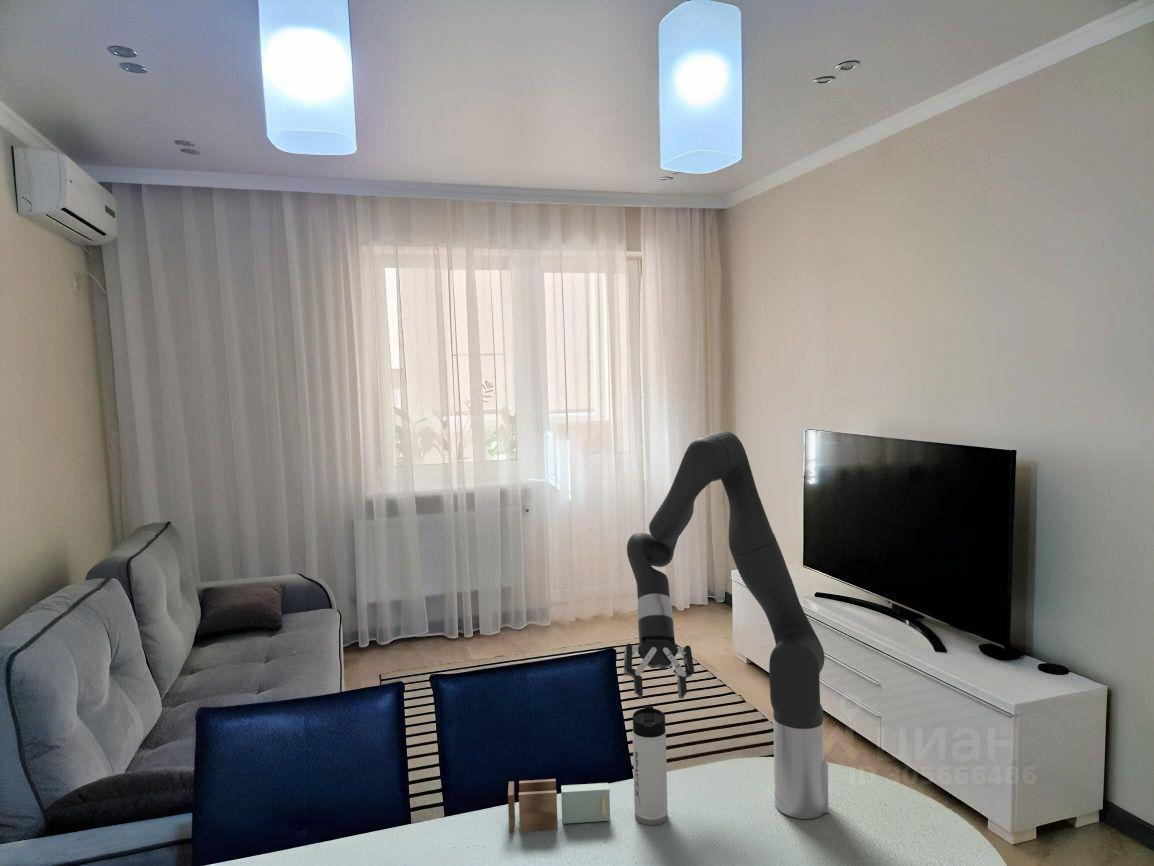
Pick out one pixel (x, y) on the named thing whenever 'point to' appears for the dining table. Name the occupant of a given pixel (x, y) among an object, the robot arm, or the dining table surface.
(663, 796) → the travel mug
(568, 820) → the pale green box
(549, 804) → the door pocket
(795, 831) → the dining table surface
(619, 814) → the dining table surface
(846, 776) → the dining table surface
